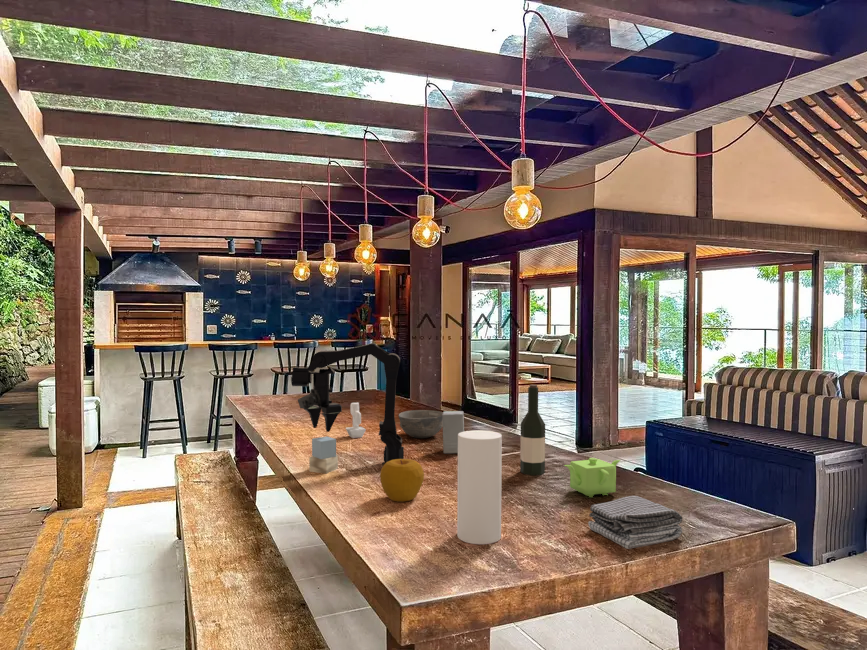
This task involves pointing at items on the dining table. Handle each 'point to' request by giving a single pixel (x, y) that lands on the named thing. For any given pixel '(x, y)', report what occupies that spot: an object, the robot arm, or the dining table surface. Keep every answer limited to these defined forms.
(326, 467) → the birch block
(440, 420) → the bowl
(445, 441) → the skincare box
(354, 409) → the figurine
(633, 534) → the towel
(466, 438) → the tall pillar cylinder
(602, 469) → the teapot
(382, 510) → the dining table surface
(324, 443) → the blue cube
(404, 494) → the apple
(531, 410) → the wine bottle
